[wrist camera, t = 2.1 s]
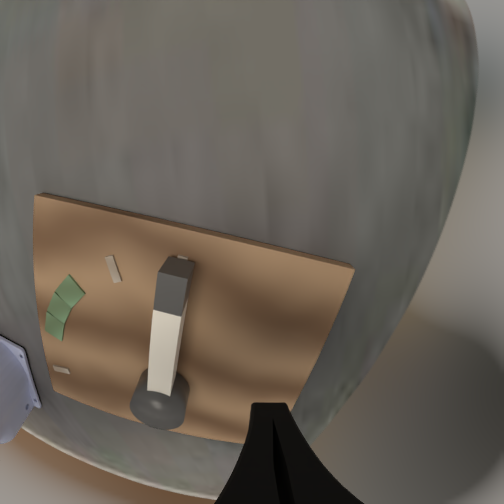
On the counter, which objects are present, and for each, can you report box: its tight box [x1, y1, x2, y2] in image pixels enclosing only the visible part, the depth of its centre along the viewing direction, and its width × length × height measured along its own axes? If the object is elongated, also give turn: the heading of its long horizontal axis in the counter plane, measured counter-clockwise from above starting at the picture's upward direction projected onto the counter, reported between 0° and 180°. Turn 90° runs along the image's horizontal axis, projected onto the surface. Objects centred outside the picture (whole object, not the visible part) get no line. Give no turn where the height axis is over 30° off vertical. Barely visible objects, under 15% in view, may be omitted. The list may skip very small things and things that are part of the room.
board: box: [33, 193, 355, 444], centre depth 20 cm, size 19×22×1 cm
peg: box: [130, 256, 195, 430], centre depth 17 cm, size 13×4×3 cm, turn 166°
